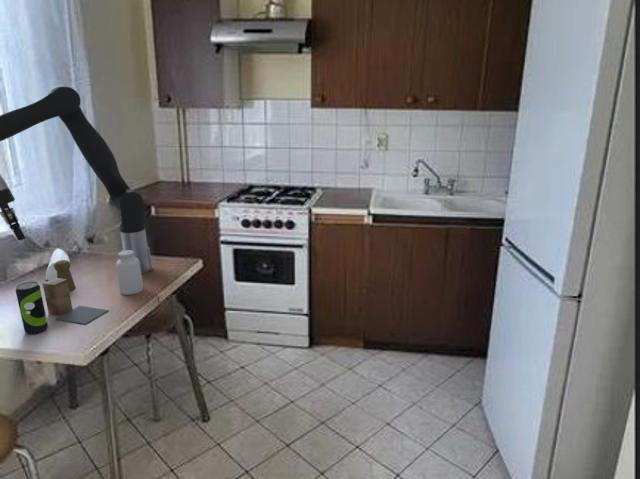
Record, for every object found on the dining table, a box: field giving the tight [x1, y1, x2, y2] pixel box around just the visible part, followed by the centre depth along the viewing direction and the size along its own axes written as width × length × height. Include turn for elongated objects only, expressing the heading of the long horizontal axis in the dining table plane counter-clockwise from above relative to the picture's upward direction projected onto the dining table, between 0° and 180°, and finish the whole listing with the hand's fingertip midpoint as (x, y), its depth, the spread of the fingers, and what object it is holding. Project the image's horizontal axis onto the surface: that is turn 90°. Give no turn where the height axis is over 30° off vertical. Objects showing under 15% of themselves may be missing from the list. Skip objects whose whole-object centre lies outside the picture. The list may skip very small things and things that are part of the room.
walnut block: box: [42, 278, 74, 317], centre depth 156 cm, size 5×5×11 cm
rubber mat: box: [55, 305, 109, 326], centre depth 154 cm, size 12×10×1 cm
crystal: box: [45, 248, 71, 281], centre depth 194 cm, size 7×7×24 cm
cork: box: [54, 260, 76, 292], centre depth 174 cm, size 6×6×11 cm
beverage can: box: [15, 280, 49, 335], centre depth 143 cm, size 6×6×15 cm
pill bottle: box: [115, 250, 144, 296], centre depth 171 cm, size 8×8×15 cm
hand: (22, 239), depth 159 cm, fingers closed
